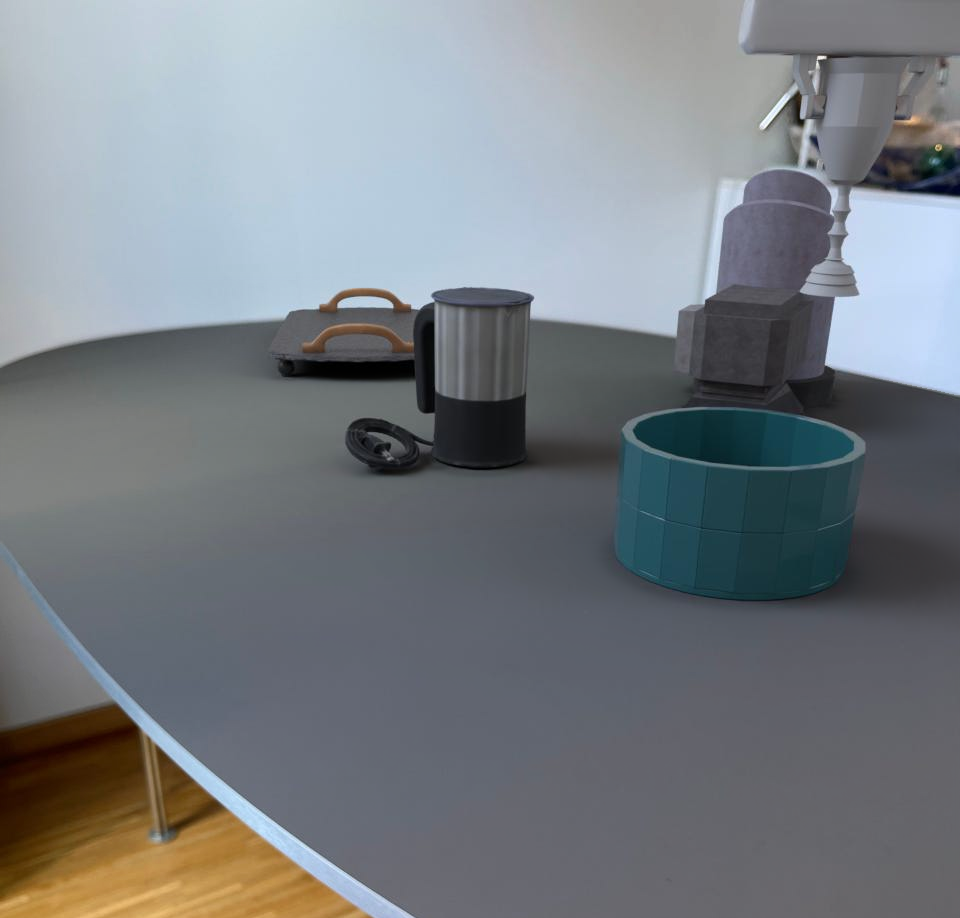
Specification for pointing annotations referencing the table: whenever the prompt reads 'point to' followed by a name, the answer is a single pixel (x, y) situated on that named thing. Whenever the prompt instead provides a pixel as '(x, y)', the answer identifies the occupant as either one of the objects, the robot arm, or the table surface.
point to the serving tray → (346, 332)
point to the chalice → (851, 147)
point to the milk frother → (463, 382)
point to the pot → (736, 501)
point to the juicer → (764, 303)
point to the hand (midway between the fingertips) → (855, 120)
